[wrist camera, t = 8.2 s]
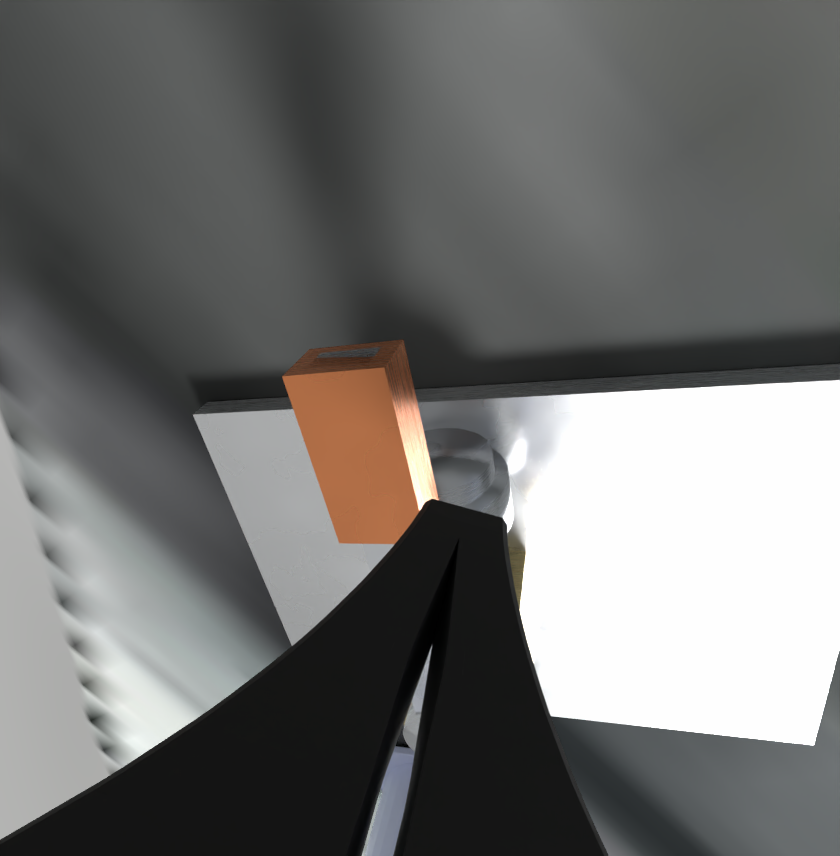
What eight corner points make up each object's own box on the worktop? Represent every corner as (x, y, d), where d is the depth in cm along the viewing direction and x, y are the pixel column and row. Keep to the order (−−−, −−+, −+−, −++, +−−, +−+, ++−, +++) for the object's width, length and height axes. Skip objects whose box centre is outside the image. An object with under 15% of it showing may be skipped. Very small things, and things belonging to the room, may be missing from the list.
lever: (497, 735, 18) (491, 779, 17) (420, 726, 19) (410, 768, 18) (412, 338, 12) (393, 366, 10) (301, 350, 12) (273, 377, 11)
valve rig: (805, 720, 23) (865, 891, 18) (318, 672, 29) (266, 787, 24) (892, 360, 15) (1039, 488, 10) (207, 401, 22) (101, 492, 17)
